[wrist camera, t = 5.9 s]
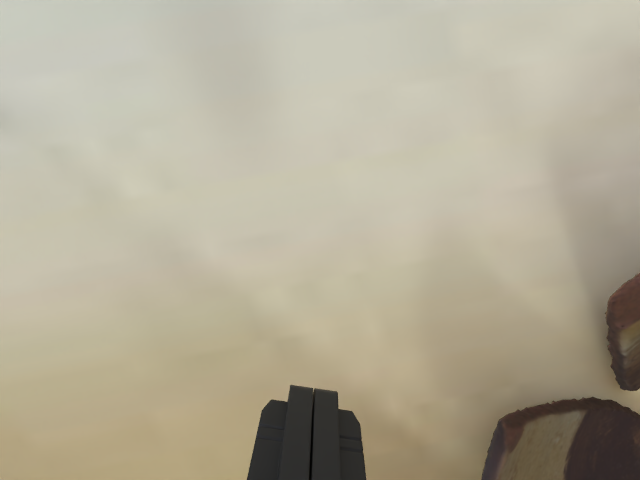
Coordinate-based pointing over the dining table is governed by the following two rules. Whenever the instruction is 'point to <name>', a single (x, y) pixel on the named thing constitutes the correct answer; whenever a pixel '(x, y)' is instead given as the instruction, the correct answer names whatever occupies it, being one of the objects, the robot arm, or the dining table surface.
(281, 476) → the robot arm
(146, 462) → the dining table surface
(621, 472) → the broken ceramic bowl
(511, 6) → the dining table surface
